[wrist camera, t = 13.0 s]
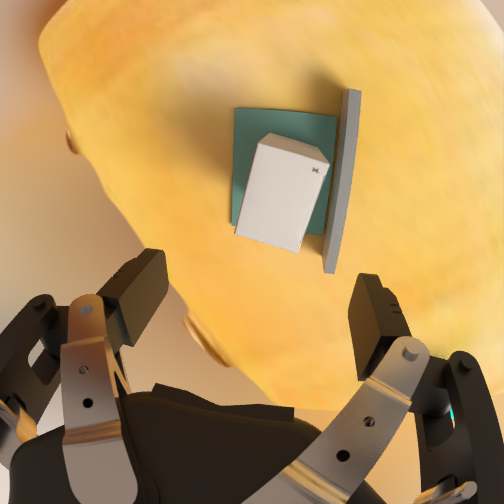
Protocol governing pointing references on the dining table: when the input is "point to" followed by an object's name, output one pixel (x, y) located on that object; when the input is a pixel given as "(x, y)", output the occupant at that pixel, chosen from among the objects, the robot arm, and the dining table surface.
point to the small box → (281, 191)
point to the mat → (291, 126)
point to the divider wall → (342, 177)
